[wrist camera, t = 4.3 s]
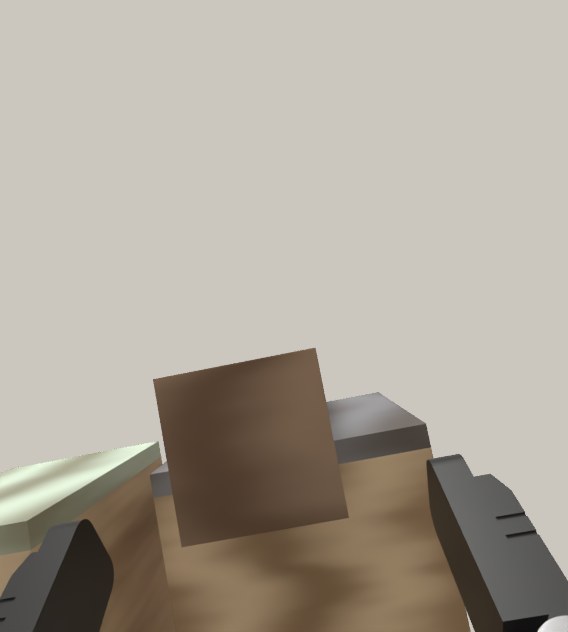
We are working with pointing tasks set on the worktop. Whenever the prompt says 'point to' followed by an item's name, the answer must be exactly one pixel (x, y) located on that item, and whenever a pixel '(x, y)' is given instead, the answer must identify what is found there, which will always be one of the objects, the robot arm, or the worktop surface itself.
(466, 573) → the robot arm
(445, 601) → the tower
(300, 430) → the walnut bar
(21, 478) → the tower
